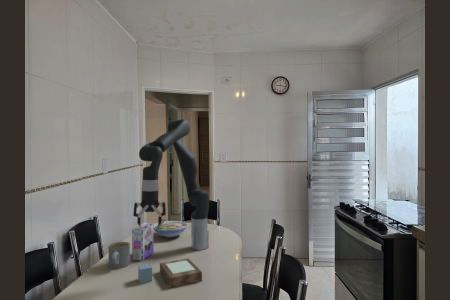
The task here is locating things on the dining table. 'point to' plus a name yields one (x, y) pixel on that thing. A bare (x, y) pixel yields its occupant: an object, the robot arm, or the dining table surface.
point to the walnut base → (180, 272)
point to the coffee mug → (119, 255)
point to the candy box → (142, 241)
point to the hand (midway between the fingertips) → (149, 225)
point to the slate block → (145, 273)
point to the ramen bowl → (170, 228)
